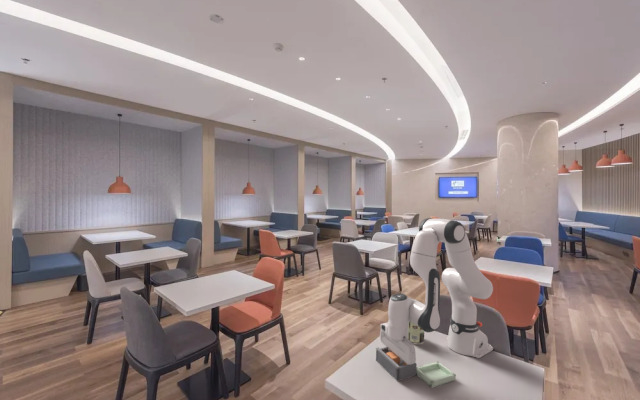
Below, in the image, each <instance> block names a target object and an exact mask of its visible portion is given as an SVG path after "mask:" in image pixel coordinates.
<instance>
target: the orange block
mask: <svg viewBox="0 0 640 400" xmlns="http://www.w3.org/2000/svg"><path fill="white" fill-rule="evenodd" d="M386 355H388V356H389V357H390V358H391V359H392V360H393V361H394V362H395V363H397V364H398V362H400V361H401V360H400V357H398V356H397V355H396V354H395V353H394V352H388V353H386ZM404 365H407V363H405V362H404Z"/></svg>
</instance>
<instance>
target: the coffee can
mask: <svg viewBox="0 0 640 400" xmlns="http://www.w3.org/2000/svg"><path fill="white" fill-rule="evenodd" d="M407 339H408V340H410V341H411V342H412V344H413V345H417V346H418V345H423V344H425V331H424V330H422V329H421V328H420V327H419V326H417V325H415V324H414V323H412V322H409V323H408V338H407Z"/></svg>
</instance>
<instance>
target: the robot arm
mask: <svg viewBox="0 0 640 400" xmlns="http://www.w3.org/2000/svg"><path fill="white" fill-rule="evenodd" d="M440 243H444V246H445V250H446V251H445V252H446V256H447V260H448V263H449V265H450V266H451V267H447V268H445V269H444V270H443V271H442V272H441V277H440V272H439V271H438V269H437V255H438V245H439V244H440ZM409 264H410V267H411V268H412V270H413V271H414V272H415V273H416V274H417V275H418V276H419V277H420V278H421V279H422V282H424V285H425V286H424V287H425V299H424V300H425V301H424V302H425V303H423V302H421V301H419V300H417V299H415V298H412V297H411V298H410V297H409V296H408V295H406V294H404V293H394V294H392V295H391V296H390V298H389V302H388V306H387V307H388V308H387V309H388V310H387V315H388V320H387V322H384V323H380V327H379V328H380V333H379V339H380V341H381V343H382V344H383V345H384V346H385V347H388V351H389V352H394V353H395V354H396V355H397V356H398V357H400V360H401V361H400V362H398V365H399V366H403V365H404V362H405V363H407V364H408V365H411V364H414V363H416V362H417V361H416V360H417V357H416V348H415V344H412V342H411V341H410V340H408V339H407V338H408V323H409V322H412V323H414V324H415V325H417V326H419V327H420V328H421V329H422V330H424V333H432V332H435V331H436V330H438V329H439V328H440V326H441V323H442V322H441V321H442V318H441V310H440V307H441V305H440V304H441V303H440V302H441V282H442V283H443V285H444V286H445V287H446V289H447V291H448V293H449V297H450V300H451V316H450V321H449V322H450V325H449V329H448V336H446V345H447V346H448V349H451V350H452V351H453V352H455V353H458V354H460V355H463V356H470V357H474V358H477V359H480V358H482V357H484V356H485V355H487V354H489V353H490V352H492V351H493V350H494V347H493V346H492V345H491V344H490V343H489V341H488V340H489V339H488V336H487V334H485V333H484V332H483V331H482V330H480V329H479V327H480V328H481V327H483V323H482V322H480V321H477V317H478V315H477V314H478V309H477V305H476V304H475V303H474V302H473V301H472V299H471V298H470V297H472V298H475V299H479V300H480V299H481V300H487V299H489V298H490V297H491V296H492V294H493V291H494V286H493V283H492V281H491V280H490V279H489V278H487V277H486V276H485V275H484V274H483V273H482V272H481V270H480V269H479V267H478V266H477V264H476V261H475V259H474V255H473V252H472V247H471V243H470V240H469V237H468V234H467V232H466V227H464V224H462V223H461V222H460V221H459V220H453V219H446V218H433V217H428V218H424V219H422V221H421V222H420V224H419V227H418V231H417V233H416V234H415V237H414V240H413V242H412V246H411V250H410V255H409Z"/></svg>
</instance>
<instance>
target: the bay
mask: <svg viewBox="0 0 640 400" xmlns="http://www.w3.org/2000/svg"><path fill="white" fill-rule="evenodd" d="M375 349H376V350H375V351H376V353H375V361H376V362H377V363H378V364H379V365H380V366H381V367H382V368H383V369H384V370H385V371H386V372H387V373H389V375H390V376H392V378H394V379H395V380H396V381H397V382H398V381H402V380H405V379H408V378H411V377H414V376H417V375H416V367H418V365H417V363H416V362H415V363H414V364H411V365H408V364H407V365H403V366H399V365H398V364H397V363H395V362H394V361H393V360H392V359H391V358H390V357H389V356H388V355H386V353H388V352H389V351H388V347H387V346H385V347H381V348H380V347H379V346H377V347H375Z"/></svg>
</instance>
